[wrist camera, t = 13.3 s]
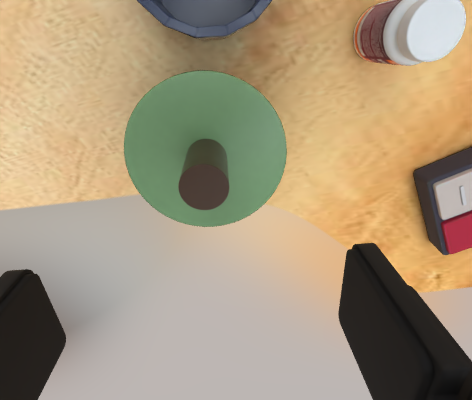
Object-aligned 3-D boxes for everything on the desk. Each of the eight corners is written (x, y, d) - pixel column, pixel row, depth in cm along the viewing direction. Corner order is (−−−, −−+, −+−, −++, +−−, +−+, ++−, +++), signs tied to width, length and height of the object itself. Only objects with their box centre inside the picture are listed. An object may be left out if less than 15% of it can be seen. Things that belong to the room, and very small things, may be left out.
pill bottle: (357, 70, 29) (405, 79, 22) (346, 16, 27) (396, 5, 20) (407, 49, 29) (474, 51, 21) (400, -7, 27) (471, -28, 19)
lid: (111, 75, 20) (70, 87, 14) (284, 63, 20) (310, 71, 14) (144, 224, 25) (123, 276, 19) (282, 213, 25) (301, 261, 20)
